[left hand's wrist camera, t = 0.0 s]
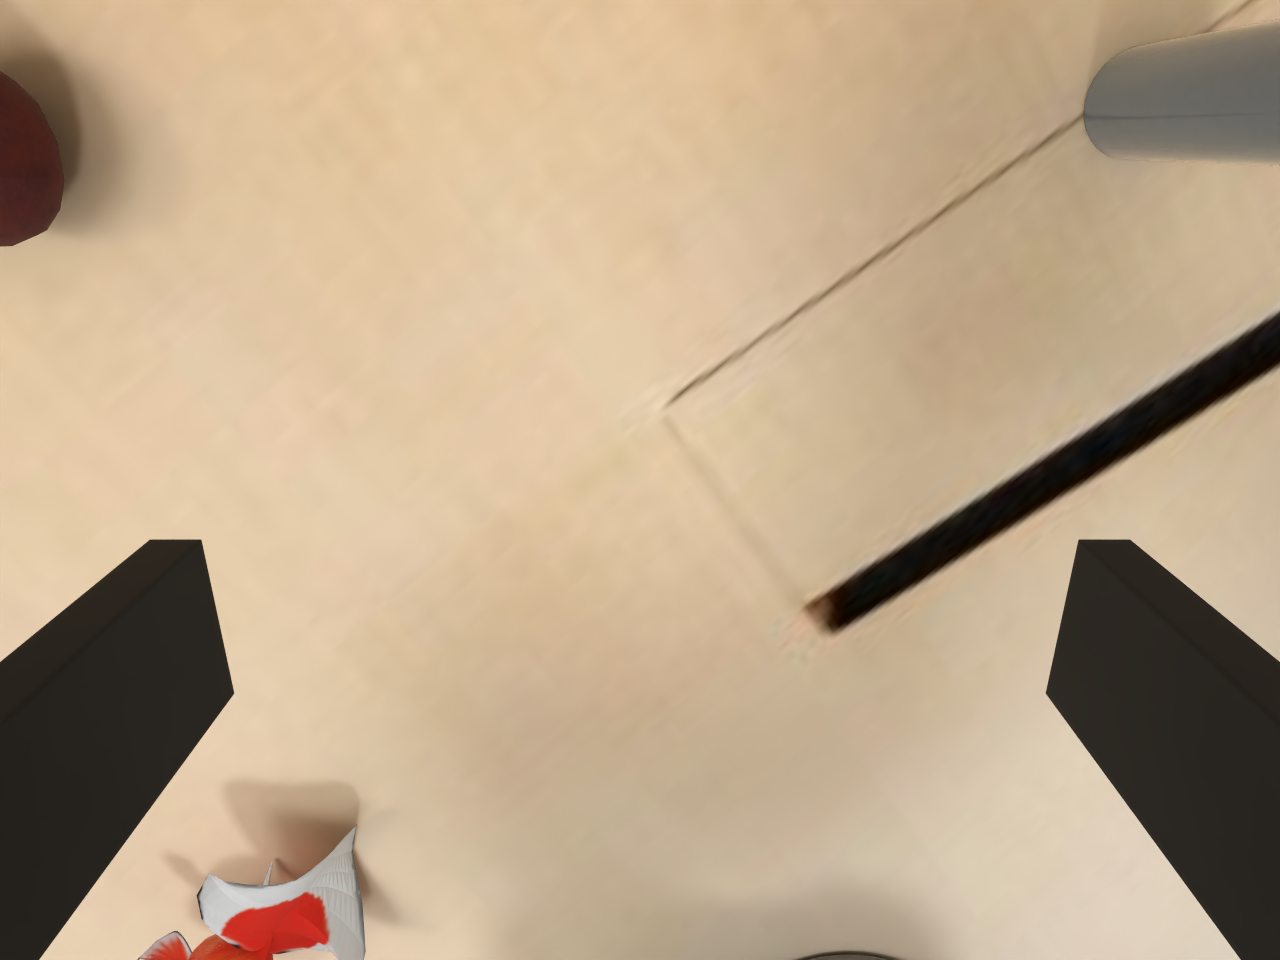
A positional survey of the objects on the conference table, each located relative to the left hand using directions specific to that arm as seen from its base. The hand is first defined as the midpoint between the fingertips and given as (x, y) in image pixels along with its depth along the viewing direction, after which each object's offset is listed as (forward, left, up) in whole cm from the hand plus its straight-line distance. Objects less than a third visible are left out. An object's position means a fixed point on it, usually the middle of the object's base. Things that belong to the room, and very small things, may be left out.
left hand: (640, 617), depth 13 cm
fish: (-35, +22, -28) cm, 50 cm away
